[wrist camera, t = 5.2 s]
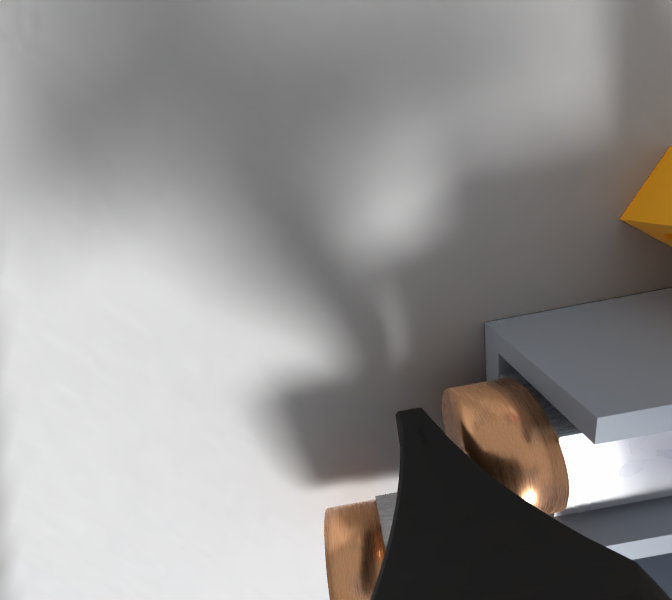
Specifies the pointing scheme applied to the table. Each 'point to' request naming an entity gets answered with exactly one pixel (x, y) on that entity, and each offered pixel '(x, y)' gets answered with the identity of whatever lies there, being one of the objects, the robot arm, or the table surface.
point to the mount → (603, 399)
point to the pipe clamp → (654, 203)
